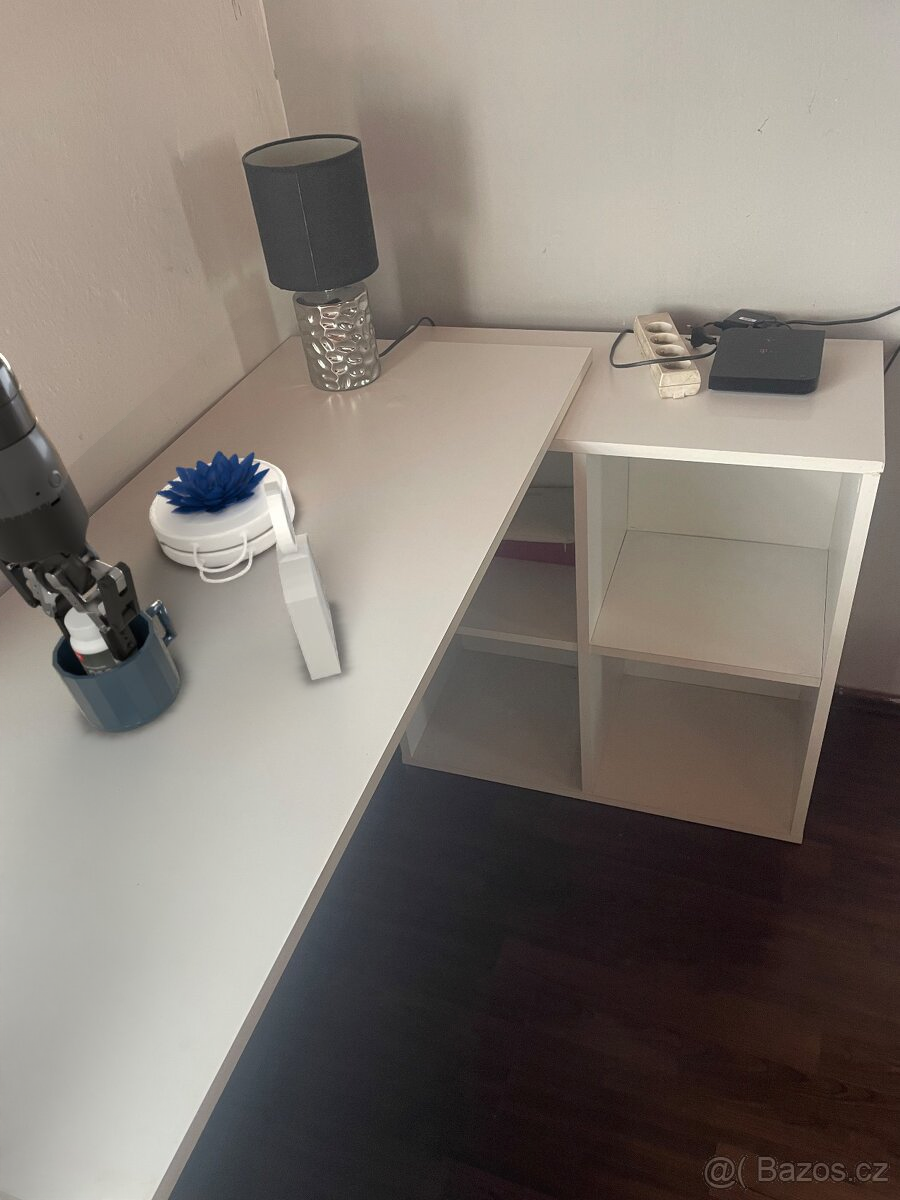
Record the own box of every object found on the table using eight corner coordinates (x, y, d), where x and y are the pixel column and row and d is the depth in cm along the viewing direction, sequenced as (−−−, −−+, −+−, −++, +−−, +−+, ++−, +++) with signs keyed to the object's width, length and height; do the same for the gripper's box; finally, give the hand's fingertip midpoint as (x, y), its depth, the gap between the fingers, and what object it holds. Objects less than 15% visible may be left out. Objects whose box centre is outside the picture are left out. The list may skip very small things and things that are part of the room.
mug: (137, 743, 76) (105, 689, 71) (64, 718, 80) (30, 665, 75) (216, 653, 83) (192, 599, 79) (147, 634, 87) (120, 581, 82)
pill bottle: (86, 694, 78) (46, 627, 73) (119, 658, 82) (83, 591, 76) (128, 704, 77) (89, 636, 71) (159, 667, 80) (125, 599, 74)
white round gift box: (146, 454, 101) (127, 556, 86) (278, 427, 101) (282, 523, 86) (166, 502, 105) (152, 607, 90) (292, 476, 106) (299, 576, 91)
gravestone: (329, 608, 86) (283, 453, 74) (341, 672, 79) (291, 513, 67) (302, 614, 86) (251, 461, 74) (312, 680, 79) (257, 521, 67)
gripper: (-86, 500, 66) (17, 658, 77) (46, 530, 60) (137, 697, 71) (-10, 449, 71) (77, 605, 82) (120, 472, 65) (194, 636, 76)
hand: (104, 647), depth 76 cm, fingers closed on pill bottle, 4 cm apart
